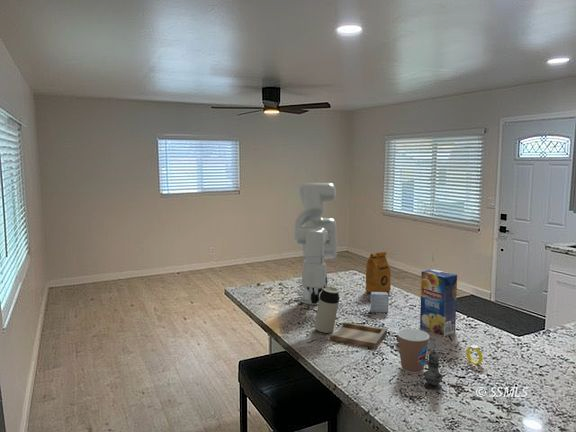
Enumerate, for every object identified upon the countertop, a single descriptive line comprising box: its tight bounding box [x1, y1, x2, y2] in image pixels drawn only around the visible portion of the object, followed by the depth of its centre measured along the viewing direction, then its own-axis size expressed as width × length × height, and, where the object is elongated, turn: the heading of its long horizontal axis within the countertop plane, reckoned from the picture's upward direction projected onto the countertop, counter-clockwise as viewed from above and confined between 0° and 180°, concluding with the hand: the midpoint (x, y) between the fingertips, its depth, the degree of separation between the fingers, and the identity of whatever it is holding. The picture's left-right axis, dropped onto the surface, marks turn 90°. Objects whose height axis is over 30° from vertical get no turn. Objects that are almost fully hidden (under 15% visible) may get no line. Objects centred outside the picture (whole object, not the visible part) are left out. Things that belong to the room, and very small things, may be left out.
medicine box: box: [370, 292, 389, 313], centre depth 200 cm, size 8×4×9 cm, turn 84°
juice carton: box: [419, 268, 458, 337], centre depth 176 cm, size 12×8×24 cm, turn 31°
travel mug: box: [314, 284, 341, 334], centre depth 175 cm, size 8×8×18 cm
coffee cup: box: [396, 328, 430, 374], centre depth 142 cm, size 10×10×12 cm
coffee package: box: [365, 251, 392, 294], centre depth 230 cm, size 10×12×22 cm
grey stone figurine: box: [422, 348, 444, 392], centre depth 131 cm, size 6×6×12 cm
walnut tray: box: [329, 321, 388, 350], centre depth 170 cm, size 18×16×2 cm
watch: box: [465, 344, 483, 366], centre depth 147 cm, size 6×3×6 cm, turn 23°
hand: (314, 302), depth 178 cm, fingers closed
